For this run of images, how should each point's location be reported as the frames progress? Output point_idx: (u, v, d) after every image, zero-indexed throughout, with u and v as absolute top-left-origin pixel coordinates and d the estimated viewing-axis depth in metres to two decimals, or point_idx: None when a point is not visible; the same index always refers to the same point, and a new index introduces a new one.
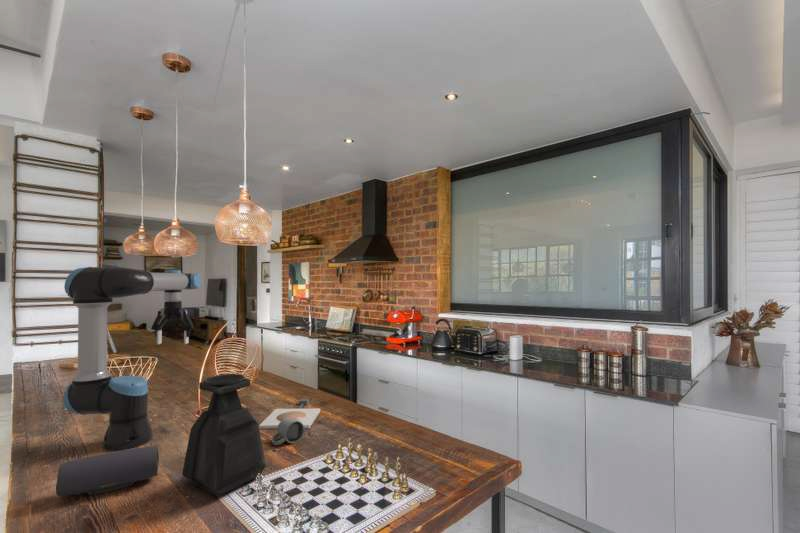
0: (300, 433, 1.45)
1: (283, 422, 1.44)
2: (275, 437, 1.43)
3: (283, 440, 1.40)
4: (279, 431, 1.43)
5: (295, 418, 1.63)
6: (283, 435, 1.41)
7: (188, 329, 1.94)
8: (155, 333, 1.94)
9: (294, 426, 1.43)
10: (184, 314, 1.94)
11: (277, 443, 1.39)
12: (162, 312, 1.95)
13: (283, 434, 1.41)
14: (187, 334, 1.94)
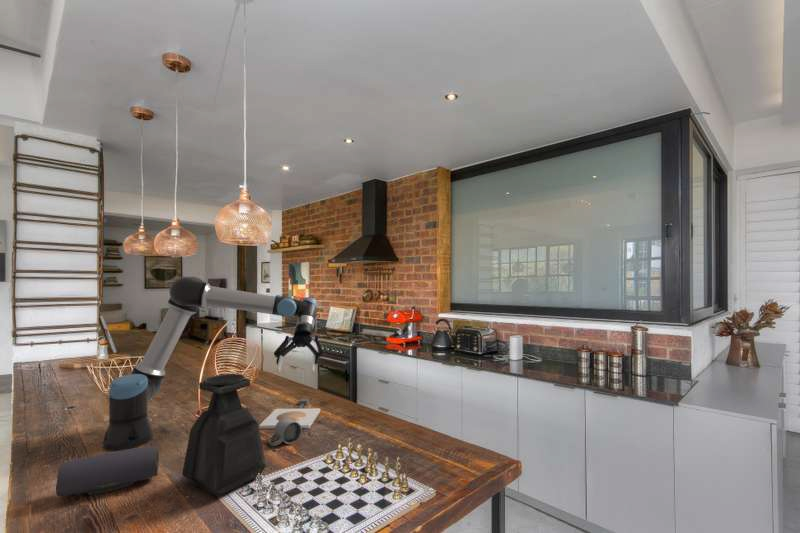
0: (297, 434, 1.44)
1: (280, 423, 1.44)
2: (272, 438, 1.43)
3: (280, 441, 1.39)
4: (276, 432, 1.42)
5: (295, 418, 1.63)
6: (280, 436, 1.40)
7: (318, 354, 1.60)
8: (277, 358, 1.59)
9: (292, 427, 1.43)
10: (316, 338, 1.65)
11: (274, 444, 1.39)
12: (290, 338, 1.67)
13: (280, 435, 1.40)
14: (316, 359, 1.58)
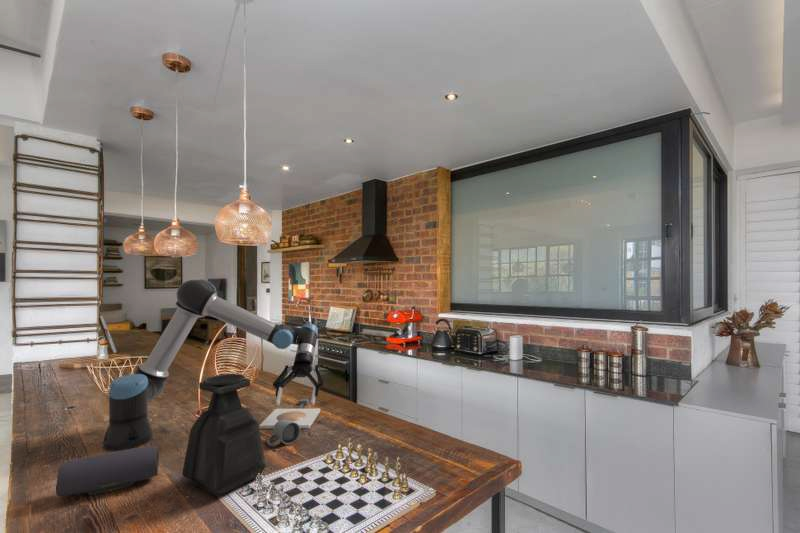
0: (296, 434, 1.44)
1: (278, 423, 1.43)
2: (271, 438, 1.42)
3: (279, 441, 1.39)
4: (275, 432, 1.42)
5: (295, 418, 1.63)
6: (279, 436, 1.39)
7: (318, 385, 1.55)
8: (276, 390, 1.54)
9: (290, 427, 1.42)
10: (316, 368, 1.61)
11: (272, 444, 1.38)
12: (289, 367, 1.62)
13: (279, 435, 1.39)
14: (316, 391, 1.54)
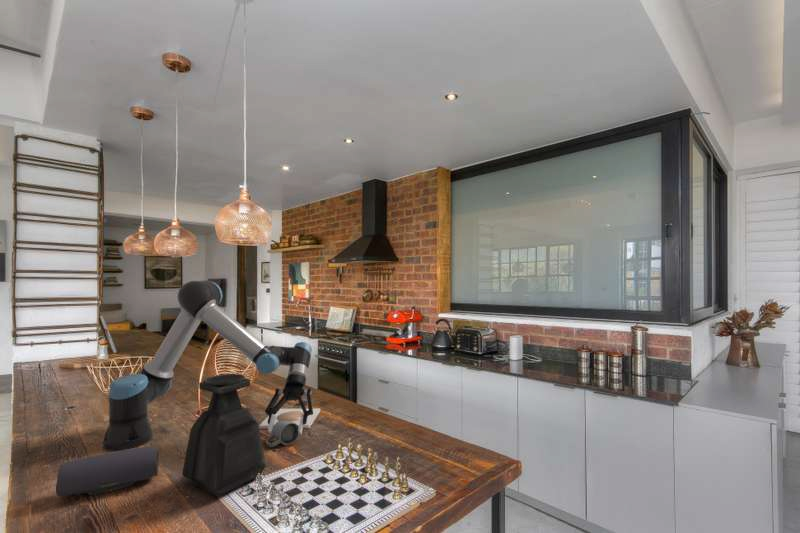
0: (295, 435, 1.43)
1: (278, 424, 1.43)
2: (270, 439, 1.42)
3: (278, 442, 1.38)
4: (274, 433, 1.42)
5: (295, 418, 1.63)
6: (278, 437, 1.39)
7: (307, 413, 1.45)
8: None
9: (289, 428, 1.42)
10: (308, 392, 1.51)
11: (272, 445, 1.38)
12: (280, 390, 1.52)
13: (278, 436, 1.39)
14: (304, 419, 1.44)
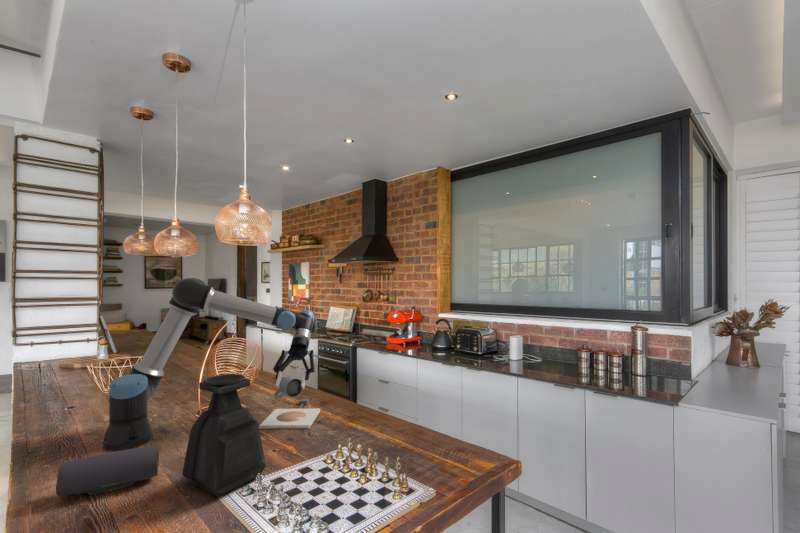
0: (300, 389, 1.60)
1: (284, 379, 1.60)
2: (277, 392, 1.59)
3: (284, 394, 1.56)
4: (281, 387, 1.59)
5: (295, 418, 1.63)
6: (284, 390, 1.56)
7: (309, 370, 1.62)
8: (276, 374, 1.61)
9: (294, 383, 1.59)
10: (310, 353, 1.68)
11: (278, 397, 1.55)
12: (286, 352, 1.70)
13: (284, 389, 1.56)
14: (306, 376, 1.61)
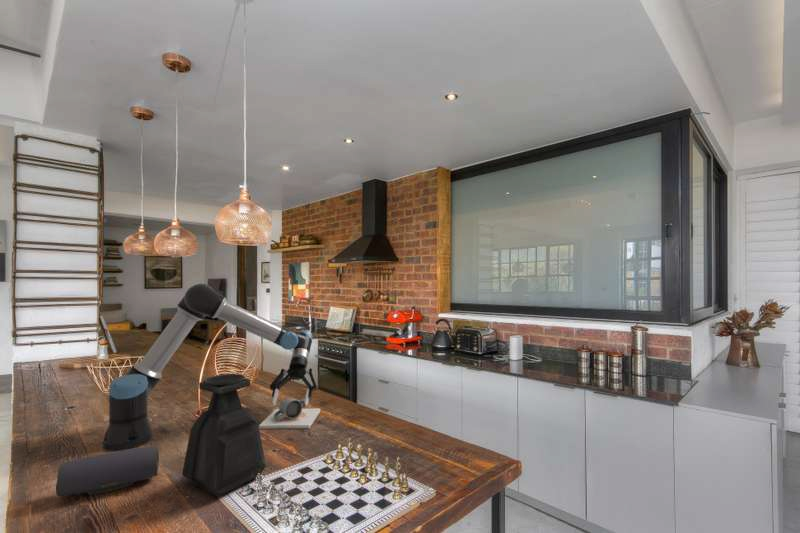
0: (299, 411, 1.66)
1: (284, 401, 1.65)
2: (277, 413, 1.64)
3: (283, 416, 1.60)
4: (280, 408, 1.64)
5: (295, 418, 1.63)
6: (283, 411, 1.61)
7: (312, 387, 1.68)
8: (272, 392, 1.67)
9: (293, 404, 1.64)
10: (310, 371, 1.73)
11: (278, 418, 1.60)
12: (285, 371, 1.75)
13: (283, 411, 1.61)
14: (309, 393, 1.66)
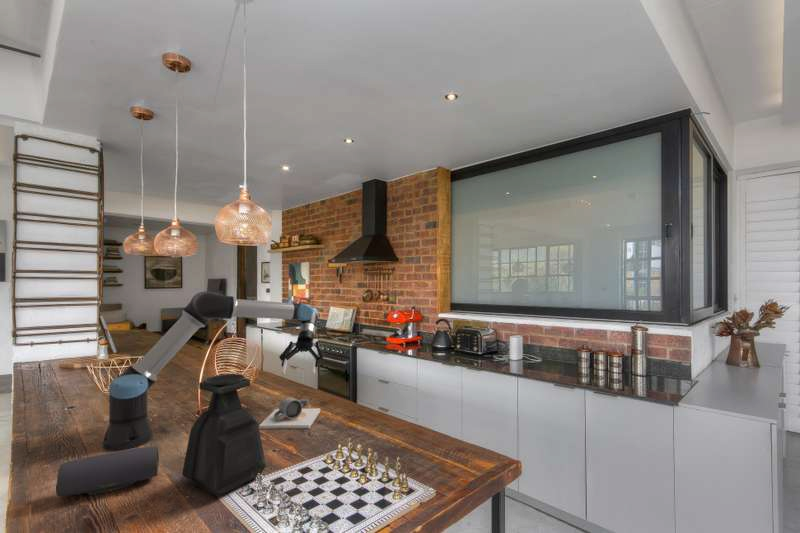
0: (299, 411, 1.66)
1: (283, 401, 1.65)
2: (277, 413, 1.64)
3: (283, 416, 1.60)
4: (280, 408, 1.64)
5: (295, 418, 1.63)
6: (283, 411, 1.61)
7: (318, 358, 1.81)
8: (282, 362, 1.80)
9: (293, 404, 1.64)
10: (316, 344, 1.86)
11: (278, 418, 1.60)
12: (294, 343, 1.88)
13: (283, 411, 1.61)
14: (316, 363, 1.79)
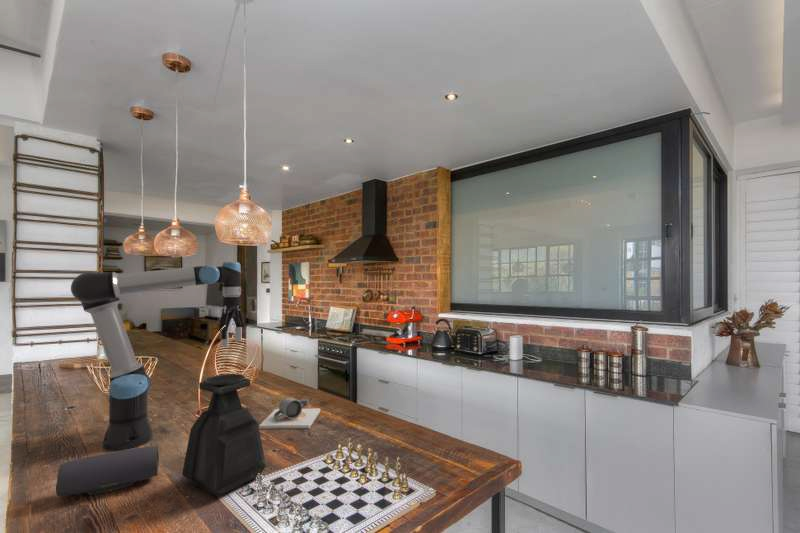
0: (299, 411, 1.66)
1: (283, 401, 1.65)
2: (277, 413, 1.64)
3: (283, 416, 1.60)
4: (280, 408, 1.64)
5: (295, 418, 1.63)
6: (283, 411, 1.61)
7: None
8: None
9: (293, 404, 1.64)
10: None
11: (278, 418, 1.60)
12: None
13: (283, 411, 1.61)
14: None
